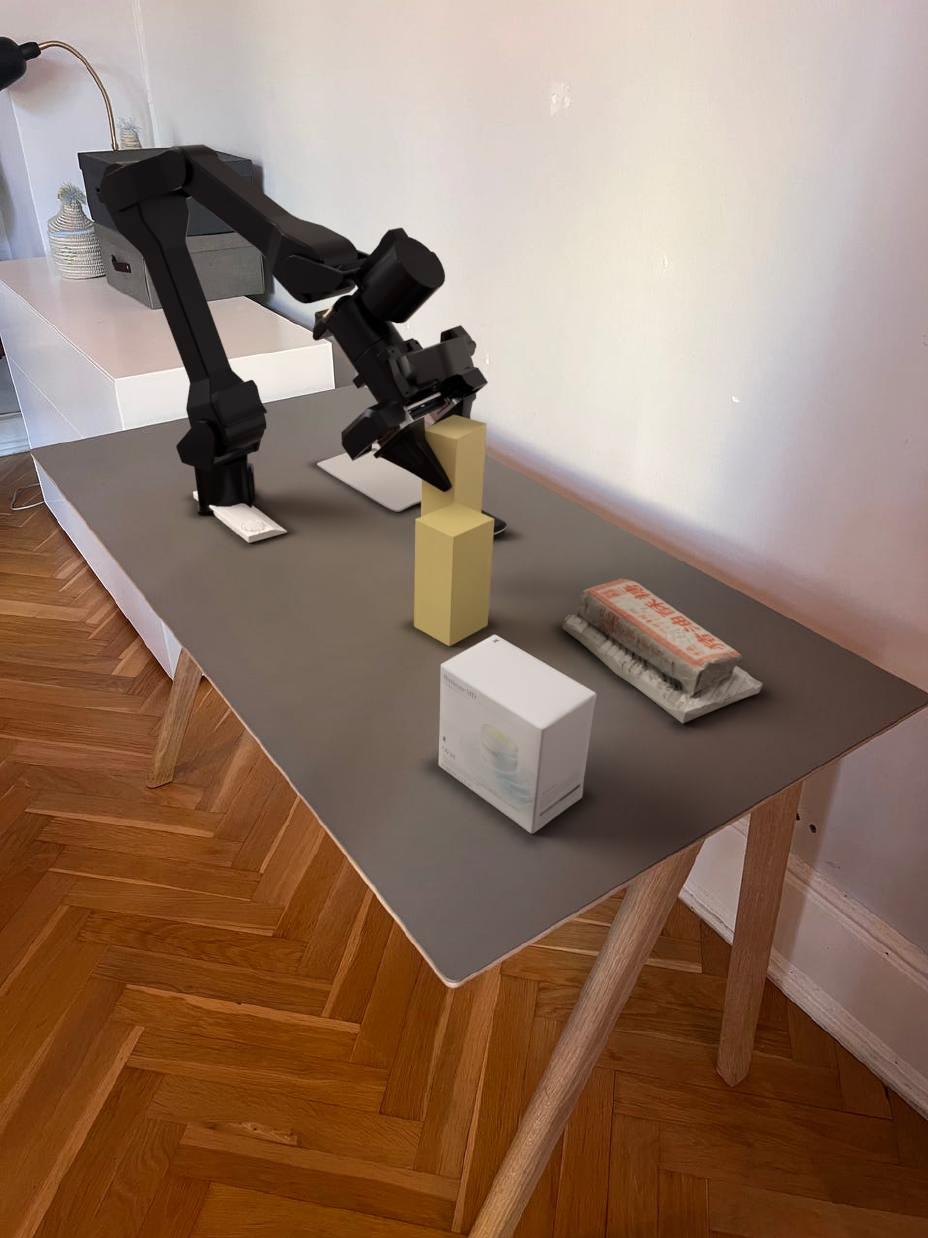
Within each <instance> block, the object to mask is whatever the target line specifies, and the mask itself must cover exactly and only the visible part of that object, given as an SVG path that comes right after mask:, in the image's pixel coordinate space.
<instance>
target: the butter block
mask: <svg viewBox="0 0 928 1238" xmlns="http://www.w3.org/2000/svg"><path fill="white" fill-rule="evenodd" d="M414 527H415V529H414V530H415V531H414V532H415V533H414V536H415V537H414V544H415V545H414V594H413V595H414V596H413V597H414V602H413V627H414V628H416V629H417V630H420V631H421V632H423V633H425V634H426V635H428V636H430V637H431V638H433V639H435V640H437V641H438V642H441V643H443V644H444V645H446V646H448V647H452V646H453V645H455V644H456V643H458V642H460V641H462V640H464V639H466V638H468V637H469V636H471V635H473V634H475V633H477V632H479V631H481V630H482V629H484V628H487V627H488V625H489V624H488V623H489V611H490V609H489V608H490V595H491V593H490V592H491V579H492V565H493V564H492V561H493V547H494V538H493V533H494V519H493V518H491V517H489V516H487V515H484V514H482V513H480V512H477V511H475V510H473V509H471V508H468V507H466V506H464V505H461V504H459V503H457V502H456V503H454V504H451V505H449V506H446V507H444V508H441V509H439V510H436V511H434V512H432V513H429V514H427V515H424V516H422V517H421V516H420V517H417V518H415V526H414Z"/></svg>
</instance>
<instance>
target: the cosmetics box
mask: <svg viewBox="0 0 928 1238" xmlns="http://www.w3.org/2000/svg"><path fill="white" fill-rule="evenodd" d="M439 687H440V692H439V693H440V694H439V730H438V731H439V733H438V735H439V737H438V767H440V768H441V769H442V770H444V771H445V772H446V773H448V774H449V775H450V776H452V777H453V778H455V779H456V780H457V781H459V782H460V783H462V784H463V785H464V786H465V787H467V788H468V789H469V790H471V791H472V792H473V793H475V794H476V795H478V796H479V797H480V798H482V799H483V800H484V801H486V802H487V803H489V804H490V805H491V806H493V807H494V808H496V809H497V810H498V811H499V812H501V813H502V814H504V815H505V816H506V817H508V818H509V819H510V820H512V821H513V822H514V823H516V824H517V825H518V826H520V827H521V828H523V829H524V830H525V831H527V832H528V833H529V834H535V833H536V832H537V831H539V830H540V829H542V828H543V827H545V825H547V824H548V823H549V822H551V821H552V820H553V819H555V818H556V817H558V816H559V815H561V813H563V812H564V811H565V810H567V809H568V808H570V807H571V806H572V805H575V803H577V802H578V801H579V800H581V799H582V798H583V795H584V785H585V775H586V769H587V768H586V767H587V762H588V753H589V746H590V739H591V733H592V727H593V725H592V724H593V719H594V713H595V706H596V702H597V701H596V700H597V697H598V696H597V692H595V691H594V690H592V689H590V688H588V687H587V686H585V685H583V684H582V683H580V682H579V681H576V680H575V679H573V678H571V677H570V676H568V675H566V674H564V673H562V672H560V671H559V670H557V669H555V668H553V667H552V666H550V665H548V664H547V663H545V662H543V661H542V660H540V659H538V658H537V657H535V656H533V655H531V654H530V653H528V652H526V651H525V650H523V649H521V648H519V647H518V646H516V645H514V644H512V643H511V642H509V641H507V640H506V639H504V638H502V637H501V636H499V635H497V634H492V635H490V636H489V637H487V638H486V639H483V640H482V641H479V642H478V643H476V644H474V645H472V646H470V647H469V648H467V649H465V650H464V651H461V652H460V653H458V654H456V655H454V656H452V657H451V658H449V659H447V660H446V661H443V662H442V663H441V664H440V685H439Z"/></svg>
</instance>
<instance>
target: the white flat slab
mask: <svg viewBox="0 0 928 1238" xmlns="http://www.w3.org/2000/svg"><path fill="white" fill-rule="evenodd" d="M192 495H193V499H194V500H196V501H197V502H198V494H197V490H194V491H193V492H192ZM209 507H210V508H211V509H212V510H213V511H214V514H213V515H214V516H215V517H216V518H217V519H219V520H220V521H221V522H222V523H223V524H224V525H226V526H227V527H228V528H229V530H230V531H233V532H234V533H235V534H236V535H238V536H240V538H242V539H243V540H245V541H246V542H247V544H248V543H249V544H250V543H253V542H257V541H261V540H264V539H268V538H272V537H275V536H280V535H283V534H286V533H288V531H287V530H286V529H285V528H283V527H282V526H281V525H279V524H278V523H276V522H275V521H274V520H273V519H271V518H270V517H269V516H267V515H266V514H265V513H263V512H262V511H261V510H260V509H258V508H257V507H255V506H254V505H253V504H252V508H250V507H249V506H247V505H246V504H241V503H240V504H237V505H233V506H231V507H227V506H226V507H216V506H212V505H209Z"/></svg>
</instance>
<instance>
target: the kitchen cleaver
mask: <svg viewBox="0 0 928 1238" xmlns="http://www.w3.org/2000/svg"><path fill="white" fill-rule="evenodd" d="M379 449H380V446H379V445H378V443H373V444H372V451H371V452H369V453H368V454H366V455H364V456H362V457H360V458H358V459H356V460H354V461H352V459H351V458H350V457H349V455H348V454H347V452H344V453H342V454H339V455H336V456H334V457H333V456H332V457H330V458H328V459H324V460H322V461H321V460H320V461H319V462H317V467H319V468H320V469H321V470H323V471H325V472H327V473H328V474H330V475H331V476H333V477H335V478H336V479H338V480H340V481H341V482H343V483H345V484H346V485H348V486H349V487H351V488H353V489H355V490H356V491H358V492H359V493H362V494H363V495H365V496H367V497H368V498H369V499H371V500H373V501H374V502H376V503H377V504H379V505H381V506H383V507H384V508H386V509H388V510H390V511H392V512H396V513H398V512H399V513H400V512H402V511H404V510H406V509H408V508H410V507H412V506H414V505H417V504H421V493H422V479H421V478H419V477H417V476H416V475H414V474H412V473H410V472H409V471H407V470H405V469H403V468H401V467H399V466H397V465H395V464H393V463H391V462H389V461H387V460H385V459H383V458H381V457H380V458H377V459H376V458H375V457H374V456H373V454H374V453H375V452H376V451H378V450H379ZM481 513H482V514H484V515H487V516H489V517H491V518H493V519H494V533H493V539H498V538H500V537H501V536H503V535H504V533H505V532H506V530H507V527H508V525H507V522H506V521H504V520H502V519H501V518H498V517H496V516H494V515H492V514H491V513H489V512H487V511H485V510H483V509H481Z"/></svg>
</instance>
